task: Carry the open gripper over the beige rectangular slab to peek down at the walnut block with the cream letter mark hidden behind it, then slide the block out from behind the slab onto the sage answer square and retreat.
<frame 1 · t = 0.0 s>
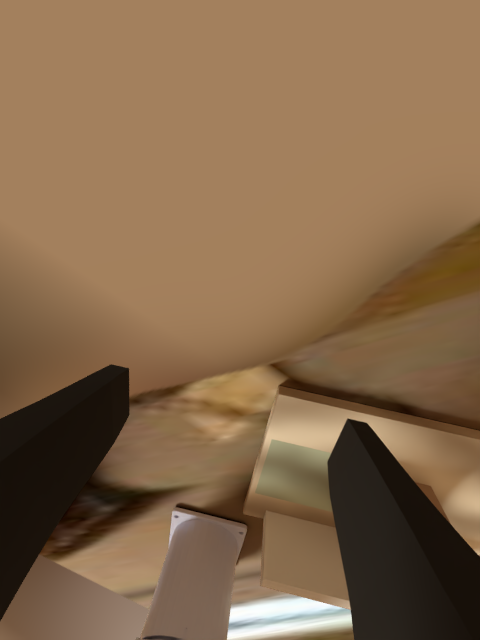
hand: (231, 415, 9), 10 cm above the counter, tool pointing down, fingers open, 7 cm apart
birch board: (378, 480, 23), on the counter
beige rectangular slab: (348, 535, 25), resting on birch board
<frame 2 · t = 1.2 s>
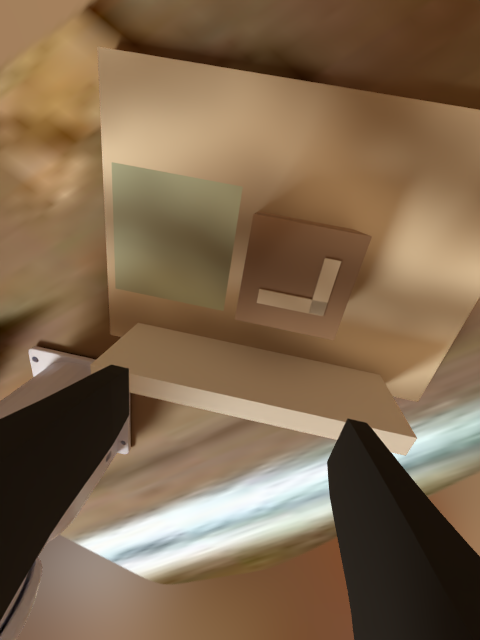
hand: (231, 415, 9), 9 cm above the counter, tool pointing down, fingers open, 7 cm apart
birch board: (286, 253, 16), on the counter
beige rectangular slab: (254, 355, 18), resting on birch board
walnut block: (293, 267, 15), point 1 cm above the counter, touching birch board
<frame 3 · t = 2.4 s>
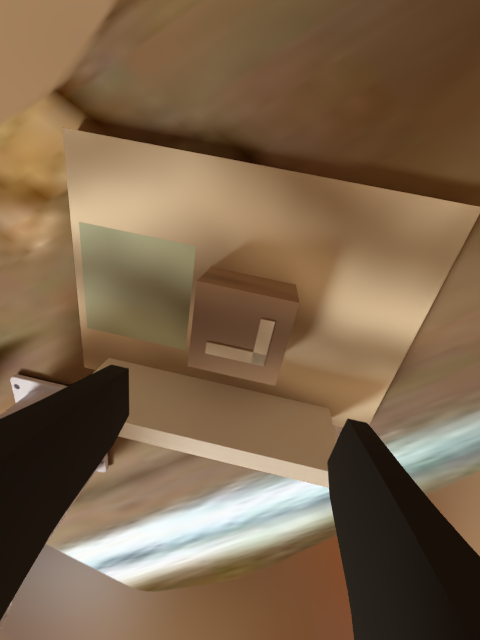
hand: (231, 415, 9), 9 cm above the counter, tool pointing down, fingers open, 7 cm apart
birch board: (240, 299, 17), on the counter
beige rectangular slab: (215, 389, 19), resting on birch board
walnut block: (245, 314, 16), point 1 cm above the counter, touching birch board
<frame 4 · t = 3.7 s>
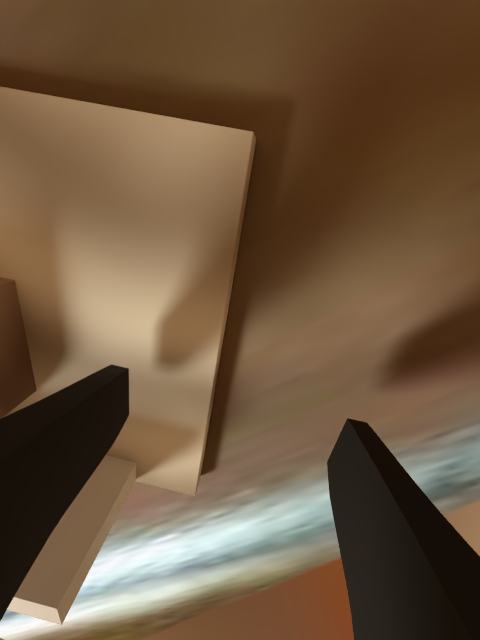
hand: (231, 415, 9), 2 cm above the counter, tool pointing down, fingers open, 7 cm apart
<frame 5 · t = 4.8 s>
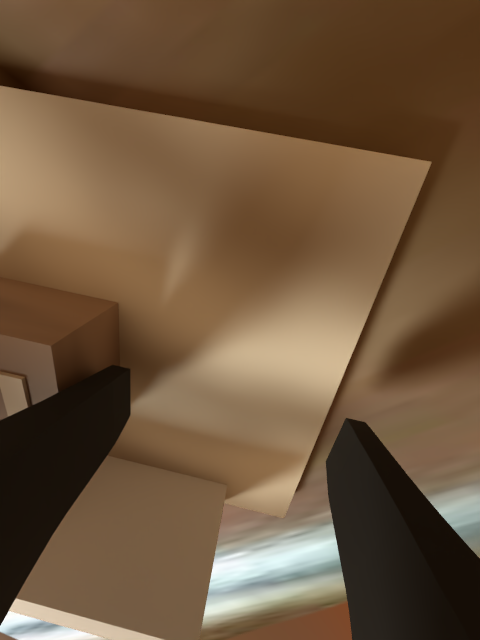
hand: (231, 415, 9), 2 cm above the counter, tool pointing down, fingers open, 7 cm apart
birch board: (76, 326, 11), on the counter
beige rectangular slab: (65, 453, 13), resting on birch board
walnut block: (58, 348, 10), point 1 cm above the counter
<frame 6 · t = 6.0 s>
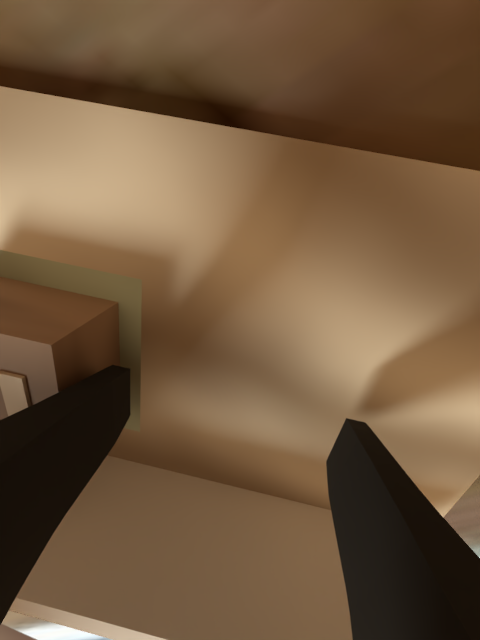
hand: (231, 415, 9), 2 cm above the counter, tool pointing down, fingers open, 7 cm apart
birch board: (223, 358, 11), on the counter
beige rectangular slab: (189, 483, 13), resting on birch board
walnut block: (58, 347, 10), point 1 cm above the counter, touching birch board, gripper
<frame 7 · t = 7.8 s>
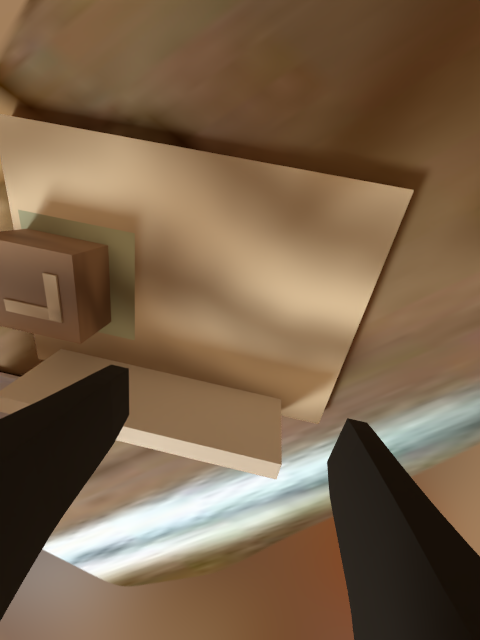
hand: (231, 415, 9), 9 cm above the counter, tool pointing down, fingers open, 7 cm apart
birch board: (187, 289, 17), on the counter
beige rectangular slab: (168, 380, 19), resting on birch board
walnut block: (71, 277, 17), point 1 cm above the counter, touching birch board
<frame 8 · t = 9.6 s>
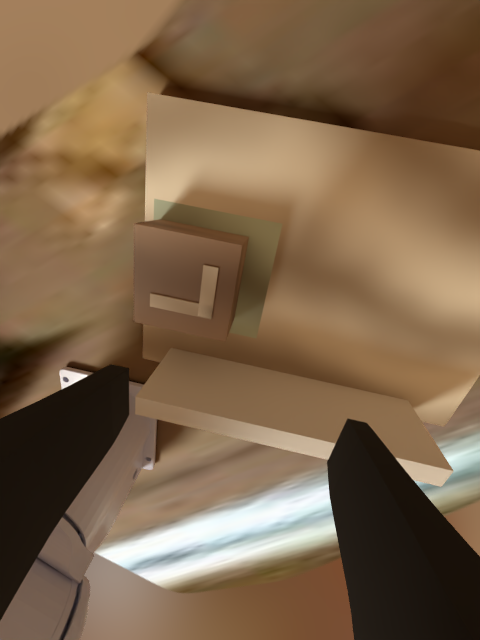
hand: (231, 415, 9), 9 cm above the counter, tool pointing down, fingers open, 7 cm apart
birch board: (319, 283, 16), on the counter
beige rectangular slab: (284, 380, 18), resting on birch board
walnut block: (199, 271, 16), point 1 cm above the counter, touching birch board
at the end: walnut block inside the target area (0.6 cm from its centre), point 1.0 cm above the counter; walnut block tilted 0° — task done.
